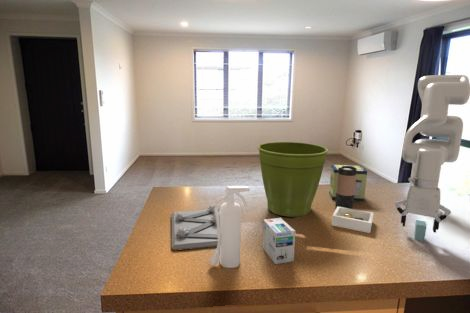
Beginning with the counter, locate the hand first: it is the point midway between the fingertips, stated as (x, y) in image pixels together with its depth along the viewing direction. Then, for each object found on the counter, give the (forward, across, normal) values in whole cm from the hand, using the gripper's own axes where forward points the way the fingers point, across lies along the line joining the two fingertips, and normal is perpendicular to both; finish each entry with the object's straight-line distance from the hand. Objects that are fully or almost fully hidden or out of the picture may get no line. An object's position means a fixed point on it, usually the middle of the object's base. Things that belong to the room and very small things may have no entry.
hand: (418, 228), depth 111 cm
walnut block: (+3, -20, -2) cm, 20 cm away
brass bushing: (+3, -24, +1) cm, 25 cm away
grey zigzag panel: (+5, -74, -32) cm, 81 cm away
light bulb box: (+4, -41, -35) cm, 54 cm away
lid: (+5, -6, 0) cm, 8 cm away
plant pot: (+5, -50, +4) cm, 50 cm away
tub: (+4, -22, 0) cm, 23 cm away
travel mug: (+5, -28, +14) cm, 32 cm away
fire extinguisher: (+4, -53, -47) cm, 71 cm away
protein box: (+5, -30, +34) cm, 46 cm away
